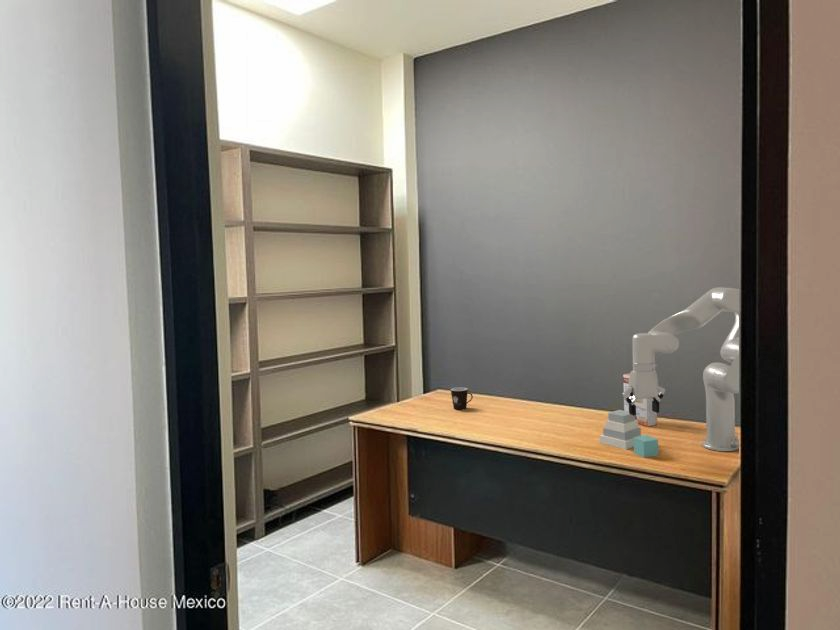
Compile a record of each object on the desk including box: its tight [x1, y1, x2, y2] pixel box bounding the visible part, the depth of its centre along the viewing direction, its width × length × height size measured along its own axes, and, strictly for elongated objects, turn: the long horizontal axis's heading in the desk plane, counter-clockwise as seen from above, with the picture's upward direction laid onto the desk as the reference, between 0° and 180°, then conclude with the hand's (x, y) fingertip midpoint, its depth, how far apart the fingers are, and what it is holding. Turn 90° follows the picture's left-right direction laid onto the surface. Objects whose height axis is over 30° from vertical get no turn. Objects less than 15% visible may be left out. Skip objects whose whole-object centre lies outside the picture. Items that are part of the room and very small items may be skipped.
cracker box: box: [622, 372, 658, 428], centre depth 262 cm, size 14×6×21 cm, turn 24°
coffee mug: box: [450, 386, 474, 411], centre depth 304 cm, size 12×9×10 cm
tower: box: [599, 409, 645, 450], centre depth 236 cm, size 12×12×12 cm
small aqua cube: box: [633, 434, 659, 458], centre depth 222 cm, size 6×6×6 cm
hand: (644, 413), depth 221 cm, fingers open, 9 cm apart
